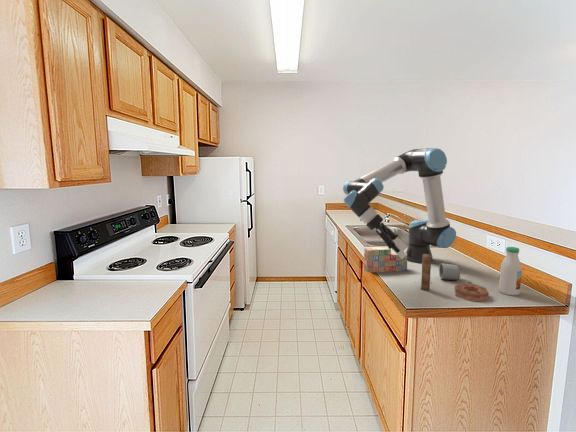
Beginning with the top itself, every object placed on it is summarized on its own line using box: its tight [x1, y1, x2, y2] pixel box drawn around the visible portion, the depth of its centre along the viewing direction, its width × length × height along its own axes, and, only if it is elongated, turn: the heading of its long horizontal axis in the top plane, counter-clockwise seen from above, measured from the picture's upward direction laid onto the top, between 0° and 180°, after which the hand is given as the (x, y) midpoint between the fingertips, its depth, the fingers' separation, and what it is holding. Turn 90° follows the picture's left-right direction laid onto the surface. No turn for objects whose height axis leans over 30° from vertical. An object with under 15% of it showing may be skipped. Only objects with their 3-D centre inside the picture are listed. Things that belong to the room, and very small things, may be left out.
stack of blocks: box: [363, 246, 408, 273], centre depth 181 cm, size 21×6×12 cm, turn 92°
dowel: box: [420, 254, 432, 292], centre depth 153 cm, size 4×4×16 cm
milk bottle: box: [498, 246, 523, 297], centre depth 147 cm, size 8×8×20 cm
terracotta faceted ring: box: [454, 283, 489, 302], centre depth 146 cm, size 12×12×3 cm
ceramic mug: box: [438, 262, 461, 281], centre depth 167 cm, size 11×8×8 cm
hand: (404, 253), depth 154 cm, fingers open, 13 cm apart
